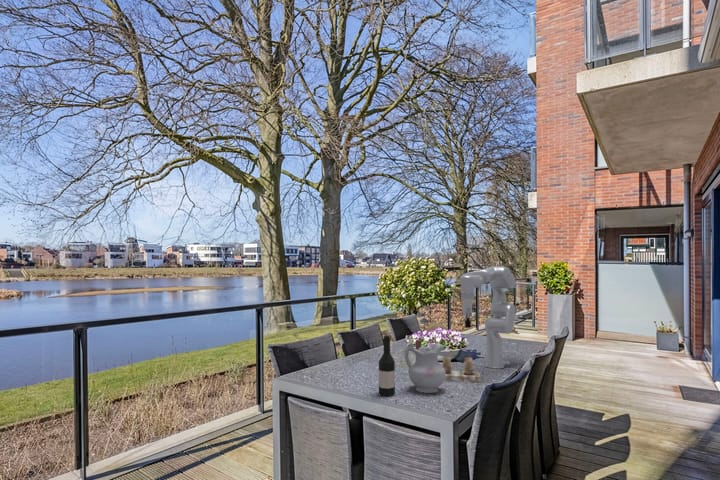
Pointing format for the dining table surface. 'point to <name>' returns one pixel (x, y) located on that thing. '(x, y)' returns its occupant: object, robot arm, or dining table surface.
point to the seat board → (458, 373)
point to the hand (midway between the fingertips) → (467, 327)
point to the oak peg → (468, 366)
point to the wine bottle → (386, 371)
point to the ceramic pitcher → (426, 368)
